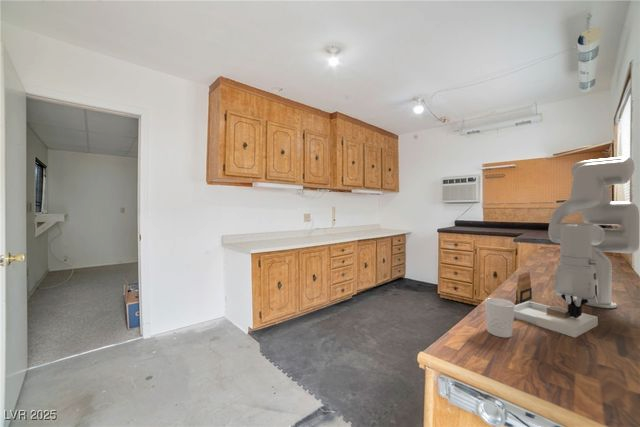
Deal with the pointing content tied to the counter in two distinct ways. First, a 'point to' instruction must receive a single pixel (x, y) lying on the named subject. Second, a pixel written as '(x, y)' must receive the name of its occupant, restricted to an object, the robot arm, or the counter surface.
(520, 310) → the box
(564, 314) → the walnut tile
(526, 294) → the ammunition clip
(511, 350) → the counter surface
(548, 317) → the platform
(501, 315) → the white cup
